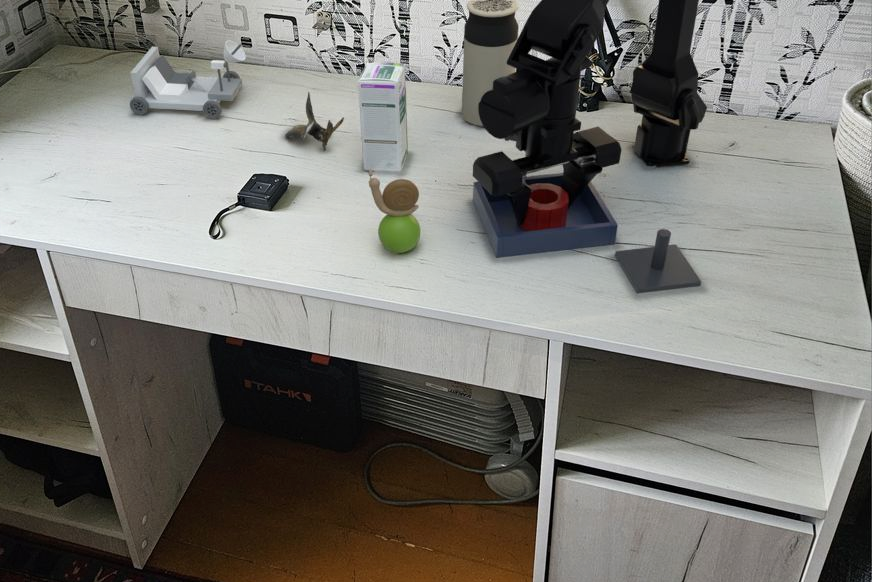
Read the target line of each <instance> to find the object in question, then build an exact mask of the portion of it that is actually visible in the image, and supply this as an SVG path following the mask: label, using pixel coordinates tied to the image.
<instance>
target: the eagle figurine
mask: <svg viewBox="0 0 872 582" xmlns="http://www.w3.org/2000/svg"><path fill="white" fill-rule="evenodd" d="M313 111H314V110H313V105H312V101H311V94H310V91H308V92H307V97H306V102H305V114H306V117H307V121H308V122H307V124H306V125H305V124H296V125H294V126H293V127H292V128H291V129H290V130H288V131H287V132H286V133H285V135H284V136H285V137H287V138H288V137H290V138H292V139H294V140H300V139H301V138H302V137H303V139H302V140H306V138H307V137H308V135H309V136H311V137H313V138H314V139H315V140H316V141H317V142H321V146H322V149H323V152H325V151H326V149H327V146H328V142H329V140H330V139H331V137H332V135H333V133H334V132H335V131H337V129H338V128H339V127H340V126H342V124H343V122H344V120H345V117H342V118H341V119H340V120H338V122H337V123H336V124H335V125H334V124H333V123H332V122H331V120H330V119H328V121H327V124H326V128H324V127H322V126H321V124H320V123H318V122H317V120H316V118H315V115H314V112H313Z"/></svg>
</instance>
